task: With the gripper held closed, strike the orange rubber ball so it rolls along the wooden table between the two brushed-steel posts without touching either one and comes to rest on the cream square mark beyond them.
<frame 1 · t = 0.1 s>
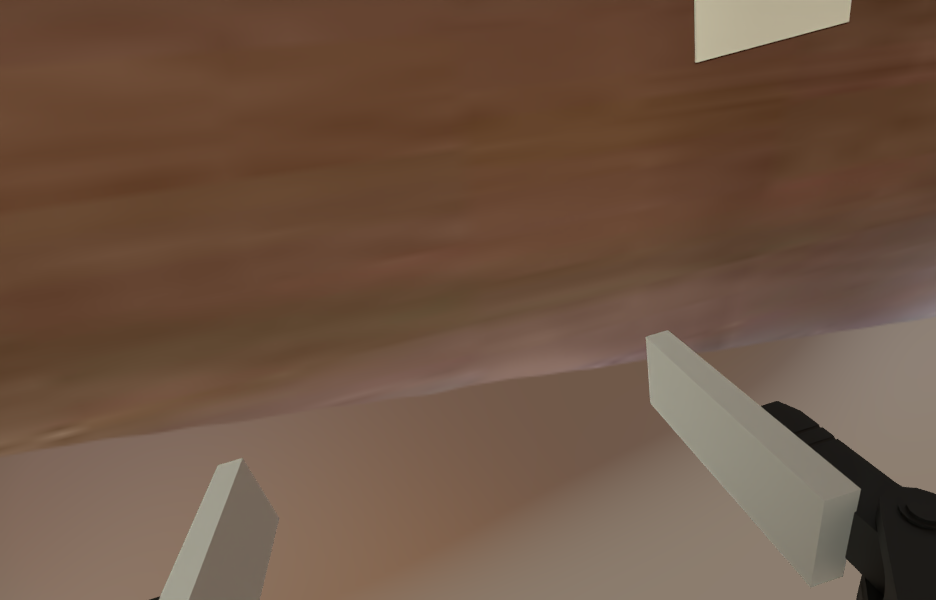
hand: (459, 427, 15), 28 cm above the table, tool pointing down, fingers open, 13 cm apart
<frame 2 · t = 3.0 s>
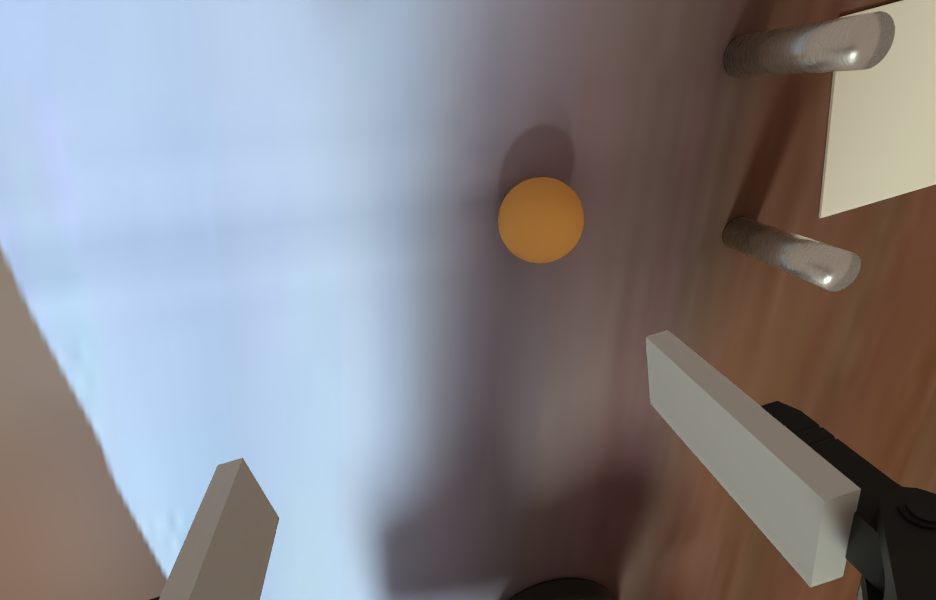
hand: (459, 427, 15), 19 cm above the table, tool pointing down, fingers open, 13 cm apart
ball: (540, 220, 30), on the table
post 2: (741, 56, 31), on the table
post 1: (737, 232, 36), on the table
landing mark: (914, 101, 34), on the table
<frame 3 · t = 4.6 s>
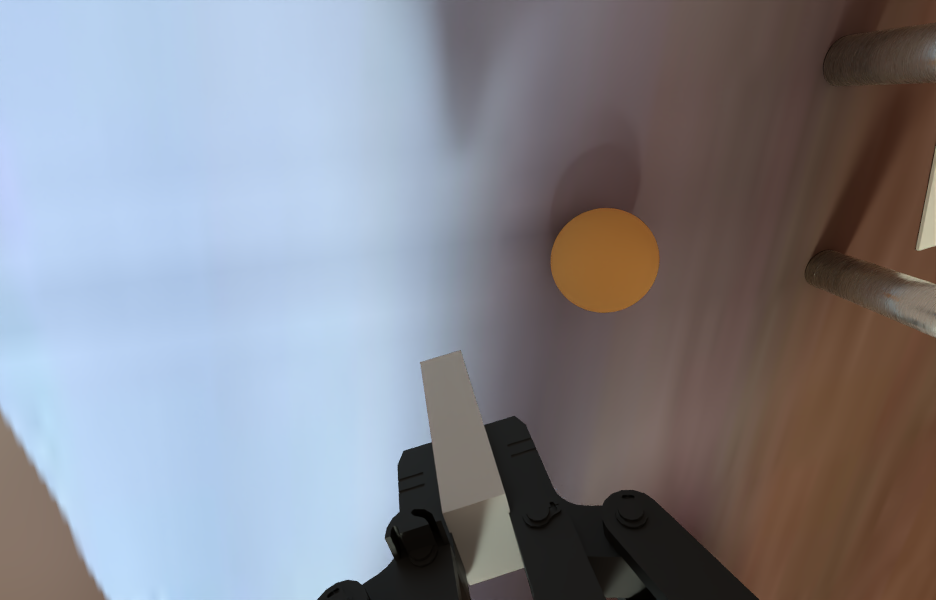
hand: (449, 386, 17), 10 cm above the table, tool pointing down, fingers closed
ball: (603, 260, 24), on the table
post 2: (844, 61, 25), on the table
post 1: (822, 268, 30), on the table
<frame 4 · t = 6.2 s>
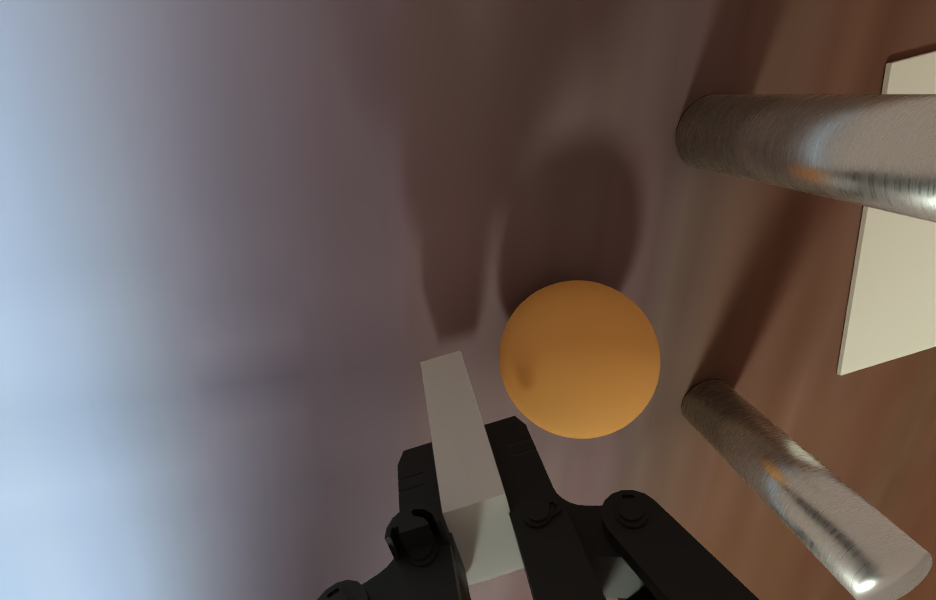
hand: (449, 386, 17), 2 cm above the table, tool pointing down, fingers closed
ball: (576, 357, 16), on the table
post 2: (707, 132, 17), on the table
post 1: (705, 401, 22), on the table
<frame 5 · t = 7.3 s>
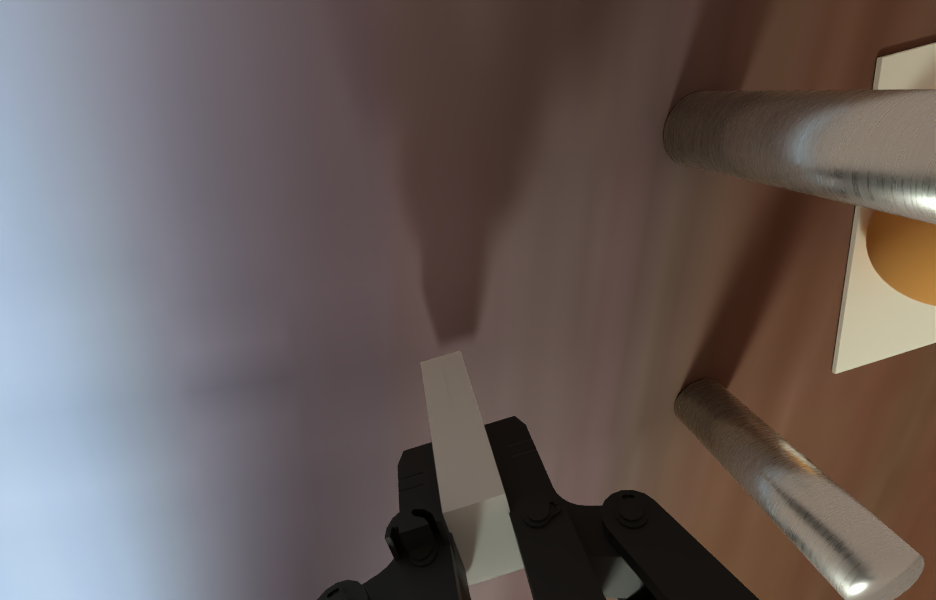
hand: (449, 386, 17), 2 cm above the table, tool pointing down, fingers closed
post 2: (695, 129, 16), on the table
post 1: (698, 401, 22), on the table
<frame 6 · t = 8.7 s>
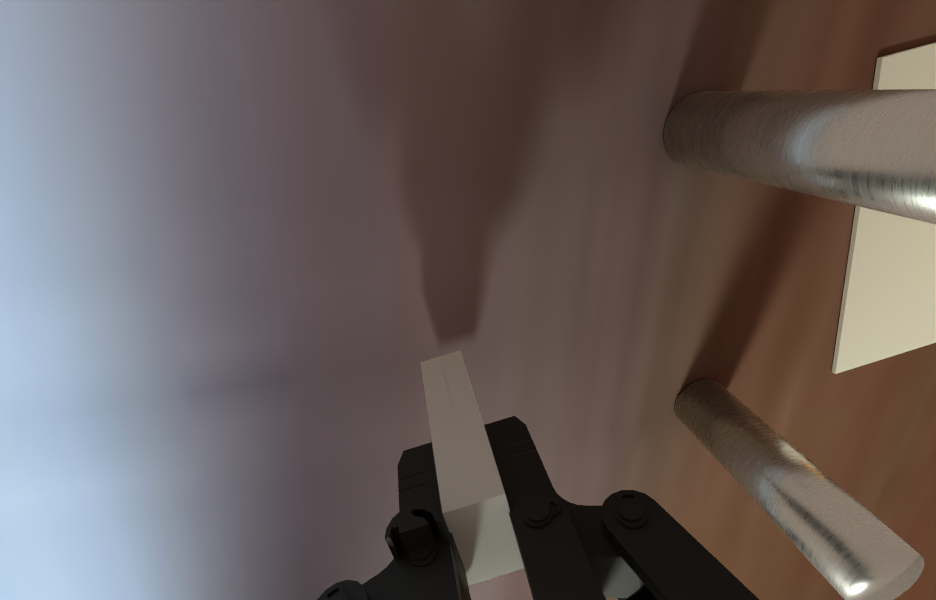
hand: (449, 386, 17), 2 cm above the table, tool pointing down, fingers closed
post 2: (695, 129, 16), on the table
post 1: (698, 401, 22), on the table
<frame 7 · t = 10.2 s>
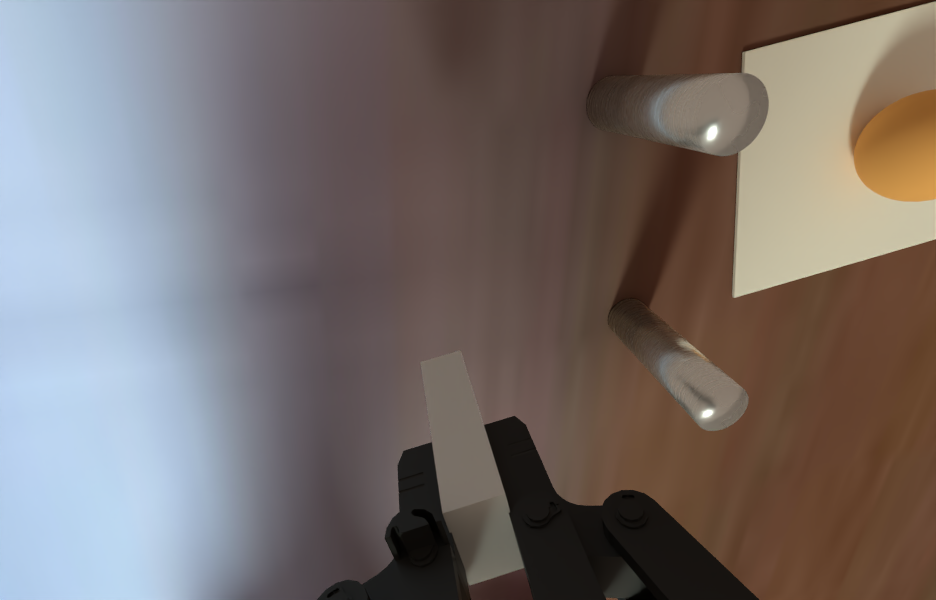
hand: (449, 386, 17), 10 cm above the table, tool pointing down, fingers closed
ball: (923, 147, 24), resting on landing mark
post 2: (610, 103, 23), on the table
post 1: (627, 316, 29), on the table
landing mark: (850, 157, 26), on the table
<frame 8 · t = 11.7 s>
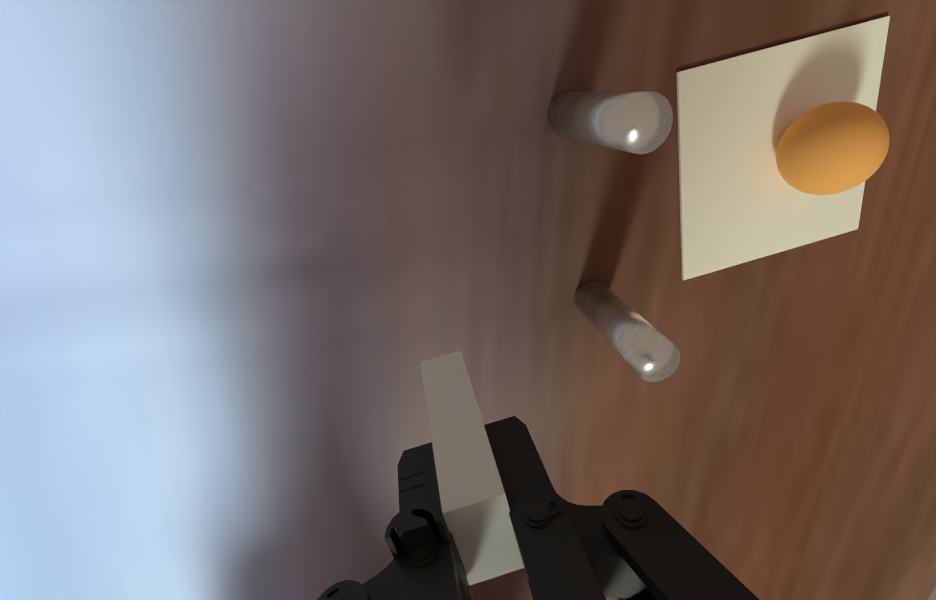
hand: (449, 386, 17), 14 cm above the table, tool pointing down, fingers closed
ball: (829, 149, 29), resting on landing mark
post 2: (568, 114, 28), on the table
post 1: (591, 296, 33), on the table
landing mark: (775, 158, 31), on the table
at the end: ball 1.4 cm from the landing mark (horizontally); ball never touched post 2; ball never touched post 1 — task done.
